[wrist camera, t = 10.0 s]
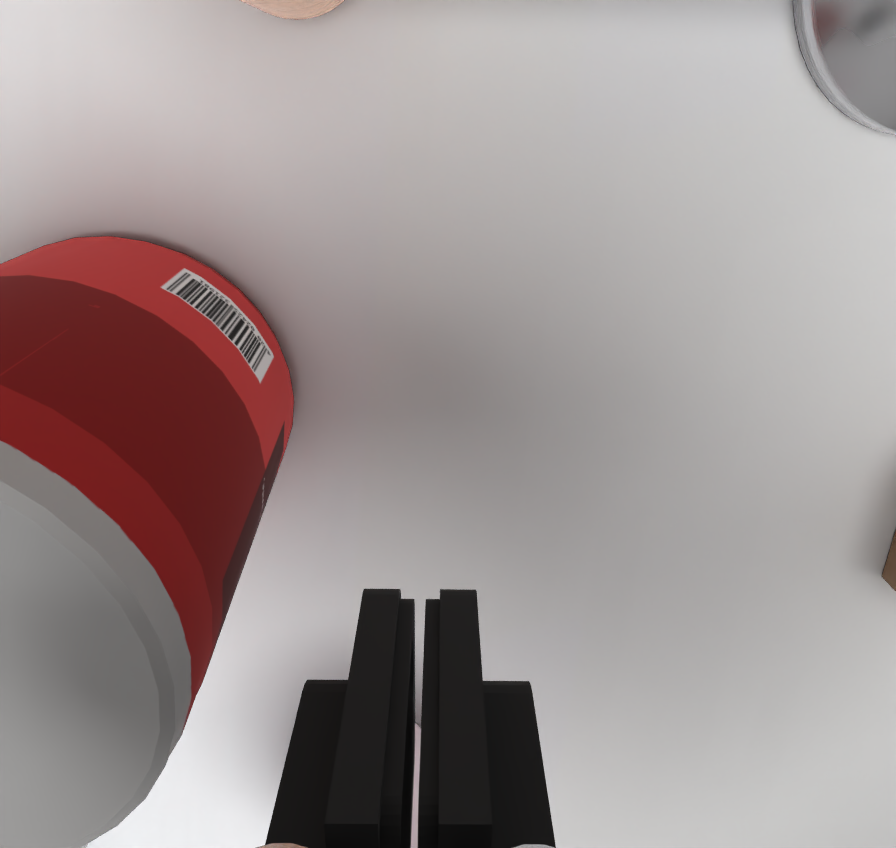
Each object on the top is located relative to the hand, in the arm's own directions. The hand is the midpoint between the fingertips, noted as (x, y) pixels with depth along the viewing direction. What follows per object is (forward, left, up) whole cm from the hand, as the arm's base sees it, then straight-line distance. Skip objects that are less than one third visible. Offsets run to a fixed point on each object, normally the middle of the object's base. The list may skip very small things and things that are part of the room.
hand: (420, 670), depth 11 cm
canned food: (+1, +7, -10) cm, 12 cm away
